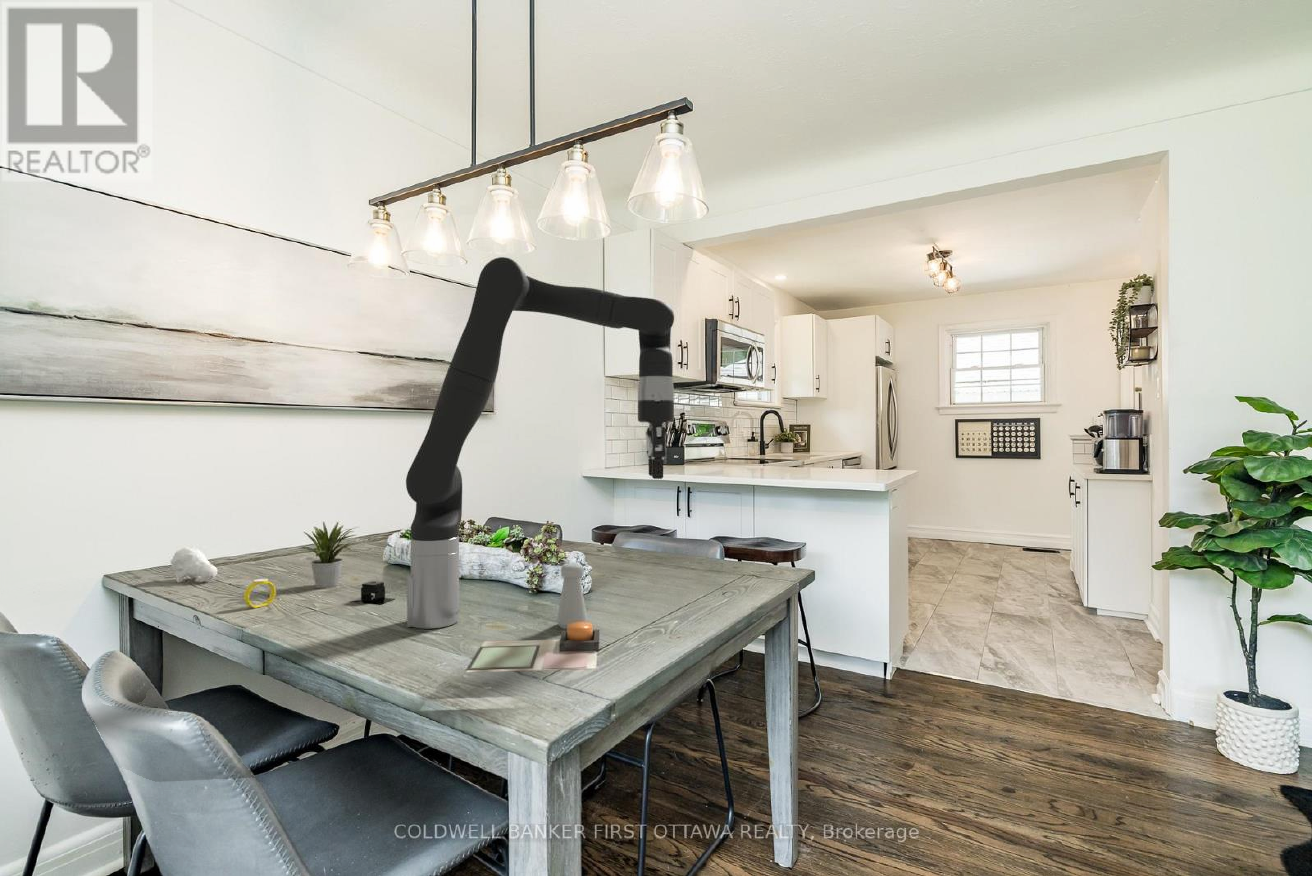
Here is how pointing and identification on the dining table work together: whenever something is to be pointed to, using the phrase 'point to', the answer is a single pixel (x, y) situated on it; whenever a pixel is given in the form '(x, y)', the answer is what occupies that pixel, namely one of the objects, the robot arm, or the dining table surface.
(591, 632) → the button
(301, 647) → the dining table surface
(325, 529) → the house plant
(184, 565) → the white fluffy lump
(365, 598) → the black short block
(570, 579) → the salt shaker
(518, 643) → the picture board
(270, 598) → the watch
